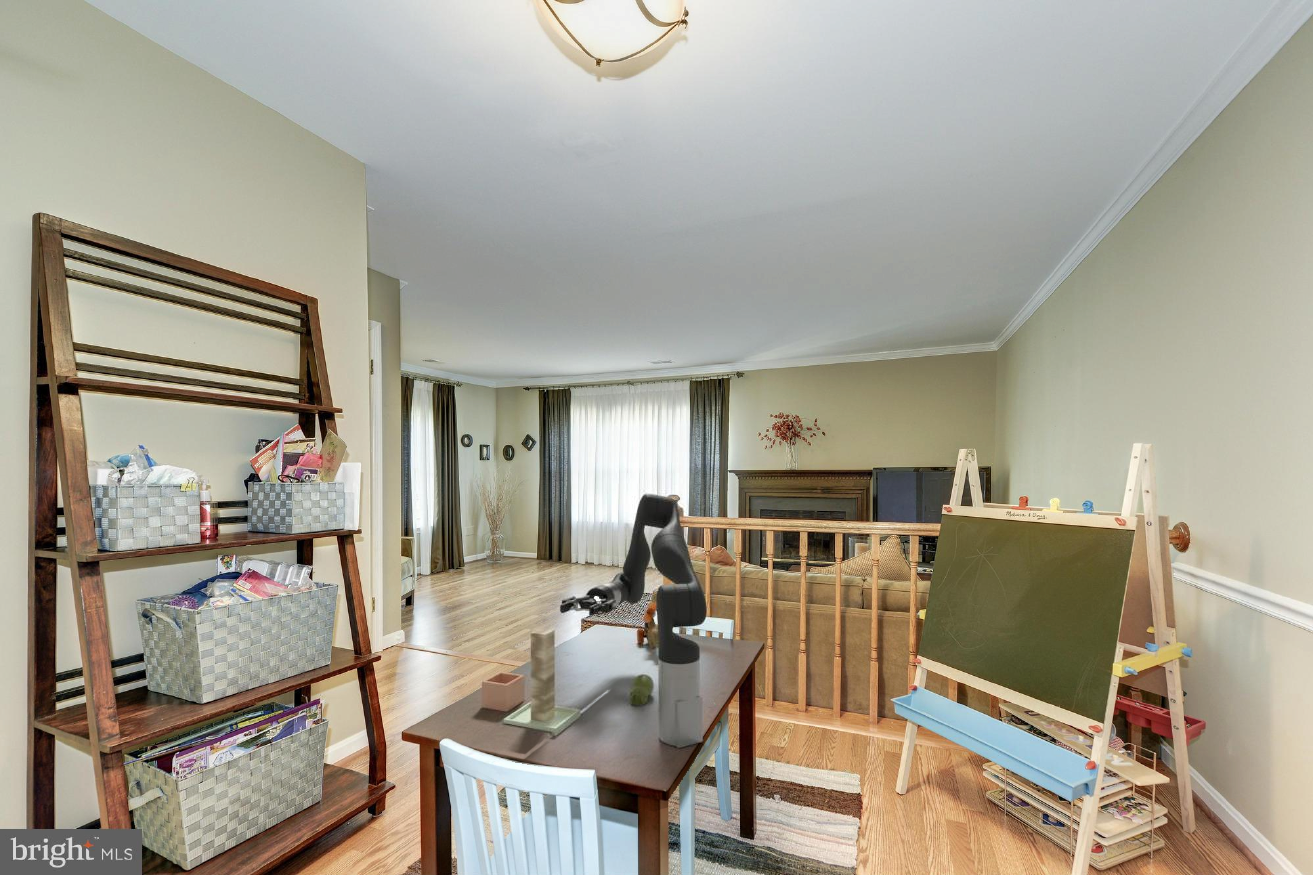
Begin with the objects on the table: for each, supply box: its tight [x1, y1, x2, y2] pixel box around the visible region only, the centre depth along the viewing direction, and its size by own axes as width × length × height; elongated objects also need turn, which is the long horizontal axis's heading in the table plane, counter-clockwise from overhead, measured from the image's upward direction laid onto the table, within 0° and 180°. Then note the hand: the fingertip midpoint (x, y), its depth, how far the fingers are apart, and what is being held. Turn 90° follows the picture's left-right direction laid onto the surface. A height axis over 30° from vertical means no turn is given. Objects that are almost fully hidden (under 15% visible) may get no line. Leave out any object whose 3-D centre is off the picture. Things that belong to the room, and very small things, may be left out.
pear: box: [629, 674, 655, 706], centre depth 153 cm, size 6×5×10 cm
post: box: [530, 628, 556, 722], centre depth 141 cm, size 4×4×20 cm
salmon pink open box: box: [481, 671, 526, 712], centre depth 149 cm, size 7×7×7 cm
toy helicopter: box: [636, 601, 658, 649], centre depth 195 cm, size 8×21×14 cm, turn 10°
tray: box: [503, 701, 581, 737], centre depth 140 cm, size 14×11×2 cm
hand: (575, 610), depth 156 cm, fingers open, 8 cm apart
